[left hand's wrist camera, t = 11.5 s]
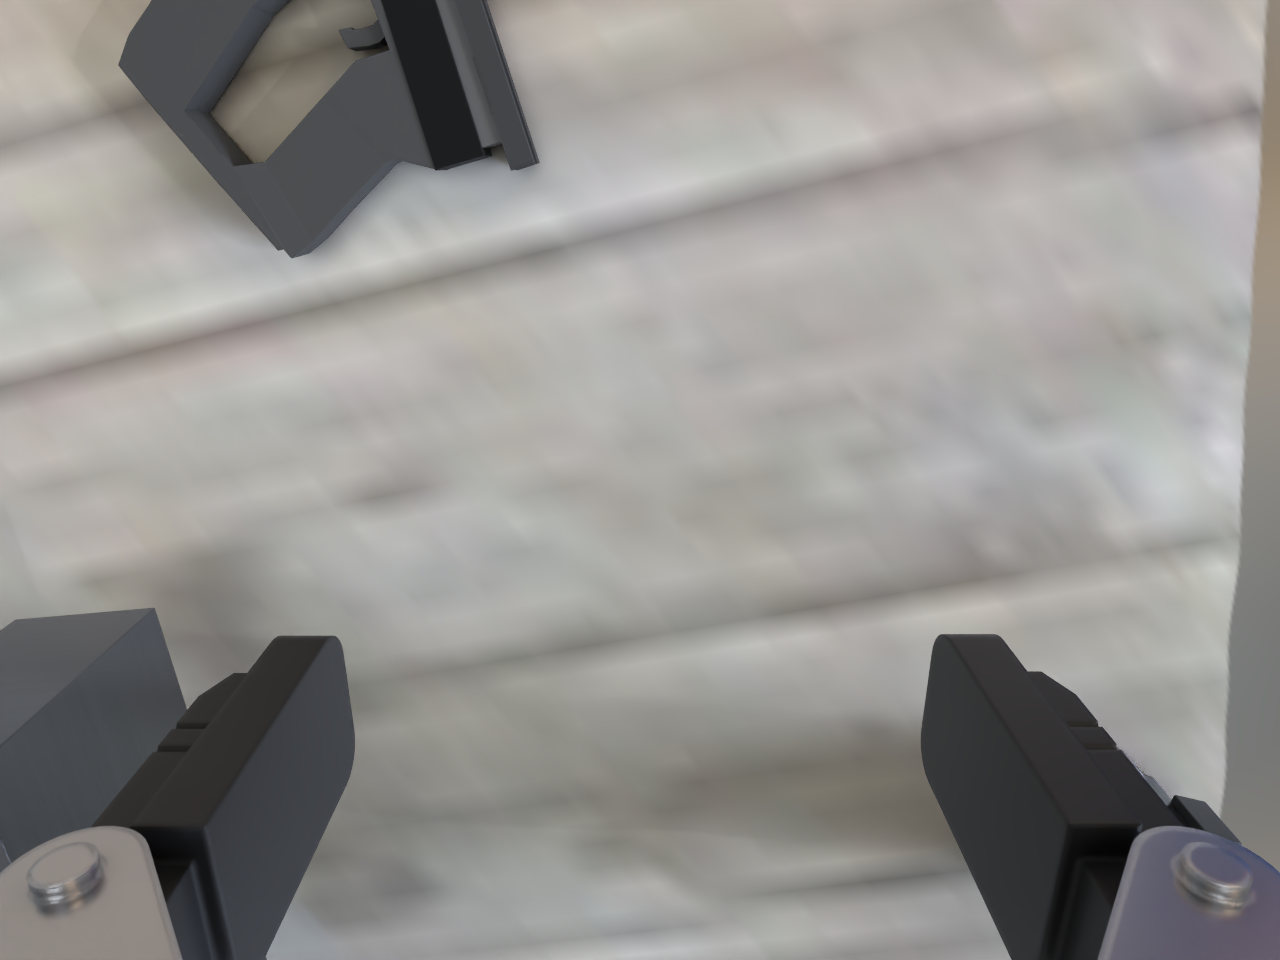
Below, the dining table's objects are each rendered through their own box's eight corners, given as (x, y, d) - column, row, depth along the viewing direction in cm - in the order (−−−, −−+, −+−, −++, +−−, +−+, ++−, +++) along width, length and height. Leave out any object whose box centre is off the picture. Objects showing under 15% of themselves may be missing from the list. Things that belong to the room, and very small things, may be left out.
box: (15, 619, 36) (-222, 788, 26) (155, 607, 36) (-30, 772, 26) (153, 979, 43) (7, 1222, 33) (270, 970, 43) (160, 1211, 33)
